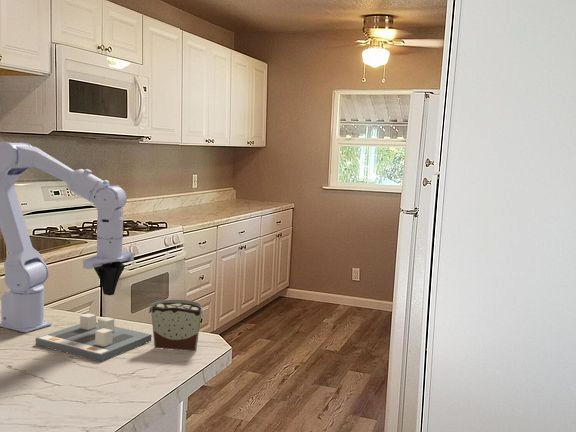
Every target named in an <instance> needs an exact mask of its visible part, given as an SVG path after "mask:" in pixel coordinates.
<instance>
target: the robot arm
mask: <svg viewBox="0 0 576 432" xmlns="http://www.w3.org/2000/svg"><path fill="white" fill-rule="evenodd" d="M31 168H35V169H37V170H40V171H42V172H45V173H47V174H49V175H50V176H53V177H54V178H57V179H58V180H61V181H63V182H64V183H66V185H67V188H68V190H69V191H70V192H72V193H74V194H75V195H77V196H79V197H81V198H83V199H85V200H87V201H88V202H90V203H92V204H93V205H94V207H95V208H96V211H97V220H96V221H97V224H96V227H97V228H96V255H94V256H91V257H89V258H87V259H86V258H85V259H83V260H82V269H85V270H92V269H93V270H94V271H95V272H96V275H97V277H98V278H99V281H100V282H99V283H100V285H101V289H102V292H103V295H105V296H113V295H115V291H116V288H117V285H118V282H119V279H120V277H121V274H122V273H123V271H124V270H125V269H126V268H125V267H126V266H125V264H124V263H122V262H126V261H127V262H128V261H130V262H131V261H134V260H135V259H134V258H135V252H133V251H123V239H124V238H123V235H124V233H123V232H124V231H123V230H124V207H125V206H126V203H127V200H128V196H127V192H126V191H125V190H124V188H122V187H121V185H119V184H111V185H110V181H109V180H107V179H105V180H104V179H101V178H99V177H98V176H96V175H94V174H92V173H93V171H92V170H90V169H89V168H86V169H83V168H78V169H76V170H74V169H72V168H71V167H69V166H68V165H66V164H64V163H63V162H61V161H59V160H58V159H57V158H55V157H53V156H51V155H49V154H48V153H46V152H44V151H43V150H42V149H40V148H39V147H37V146H32V145H31V144H30V143H28V142H24V141H23V142H7V141H0V231H1V235H2V237H3V241H4V244H5V247H6V251H7V256H6V258H5V261H4V263H3V266H4V269H5V272H4V273H5V274H4V283H5V285H6V287H7V289H6V290H5V291H4V292H3V294H2V297H1V301H0V302H1V303H0V307H1V308H0V313H1V315H0V318H1V320H0V327H2V328H5V329H10V330H14V331H17V332H22V333H28V332H31V331H35V330H39V329H41V328H46V327H48V326H49V327H50V326H51V325H52V324H53V322H50V321H46V320H44V319H45V318H44V317H45V316H44V315H45V313H44V312H45V309H44V307H45V305H44V304H45V301H44V299H45V295H44V294H45V293H44V291H45V282H47V280H48V278H49V276H50V269H49V267H48V265H47V264H46V262H45V261H44V260H43V258H42V256H41V253H40V252H39V251H38V250H37V249H35V248H34V247H33V244H32V241H31V238H30V235H29V230H28V227H27V224H26V221H25V217H24V214H23V211H22V207H21V203H20V201H19V198H18V194H17V190H16V187H15V184H16V182H17V180H18V179H19V178H20V176H21V175H22V174H24V173H25V172H26V171H27V170H29V169H31Z"/></svg>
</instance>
